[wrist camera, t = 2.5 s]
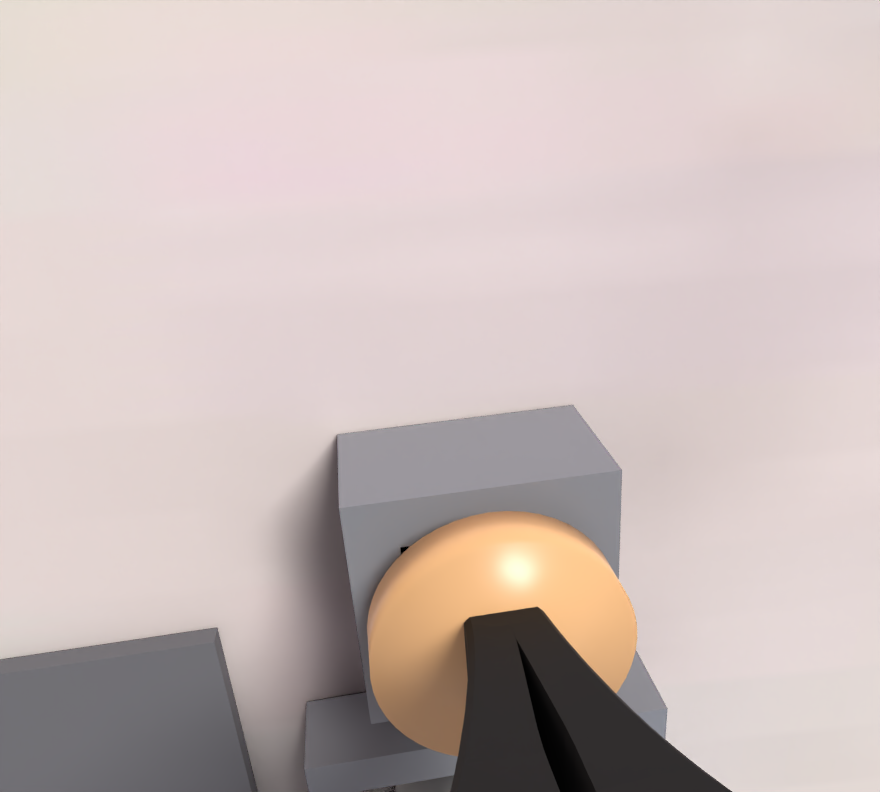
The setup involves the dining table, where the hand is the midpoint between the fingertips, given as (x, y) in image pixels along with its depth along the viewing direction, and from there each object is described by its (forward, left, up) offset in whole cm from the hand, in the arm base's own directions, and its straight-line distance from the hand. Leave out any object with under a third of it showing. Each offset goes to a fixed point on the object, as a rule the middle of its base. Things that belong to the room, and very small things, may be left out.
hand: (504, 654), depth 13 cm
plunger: (0, 0, -4) cm, 4 cm away
